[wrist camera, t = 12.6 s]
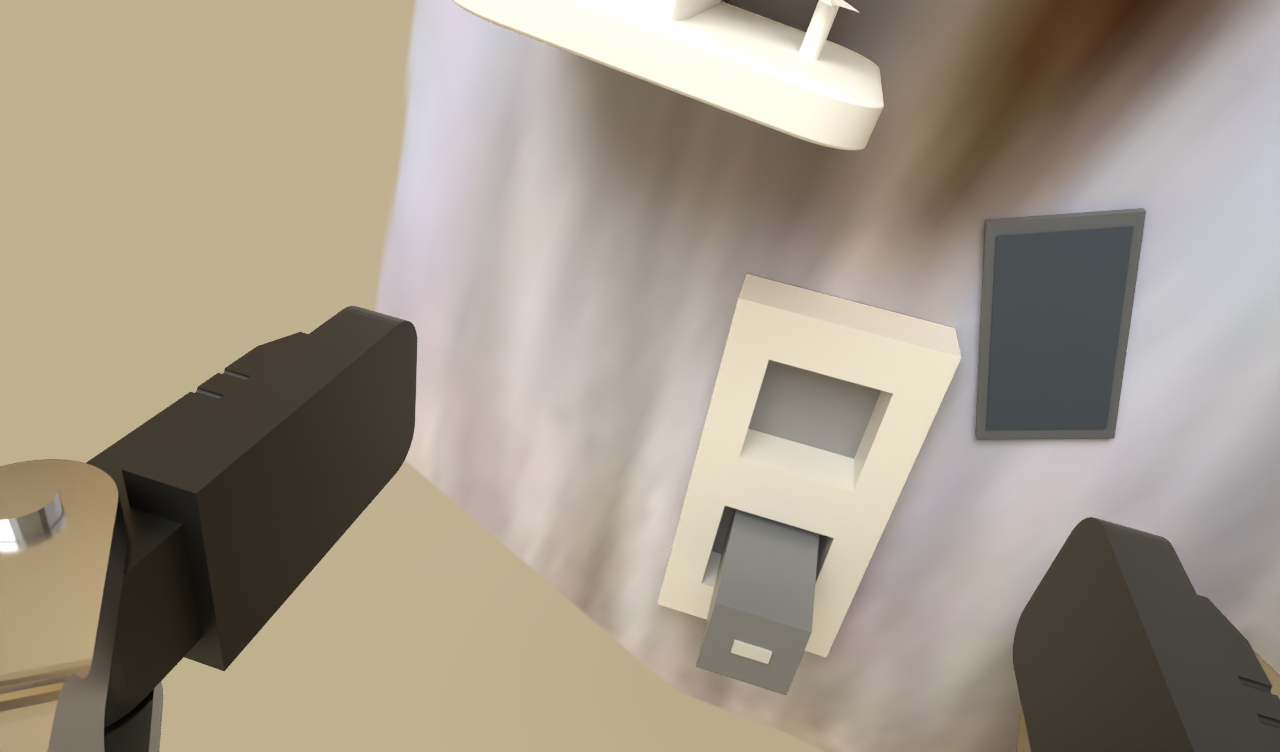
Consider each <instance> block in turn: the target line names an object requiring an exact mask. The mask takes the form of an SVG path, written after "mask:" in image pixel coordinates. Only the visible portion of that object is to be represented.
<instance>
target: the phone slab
mask: <svg viewBox="0 0 1280 752" xmlns="http://www.w3.org/2000/svg"><path fill="white" fill-rule="evenodd" d="M1145 213H1146V211H1145V210H1144V209H1143V208H1140V209H1126V210H1112V211H1098V212H1084V213H1070V214H1057V215H1043V216H1029V217H1015V218H1001V219H987V220H985V233H984V256H983V278H982V301H981V323H980V346H979V369H978V391H977V414H976V438H977V439H1100V438H1114V436H1115V429H1116V422H1117V414H1118V407H1119V400H1120V393H1121V386H1122V378H1123V371H1124V364H1125V357H1126V350H1127V343H1128V335H1129V328H1130V321H1131V314H1132V307H1133V300H1134V292H1135V285H1136V278H1137V271H1138V264H1139V257H1140V249H1141V242H1142V235H1143V228H1144V221H1145Z"/></svg>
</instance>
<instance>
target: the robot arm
mask: <svg viewBox="0 0 1280 752" xmlns="http://www.w3.org/2000/svg"><path fill="white" fill-rule="evenodd" d="M416 365H417V334H416V330H415V327H414V325H413V324H412V323H411V322H409V321H406V320H402V319H399V318H395V317H392V316H388V315H385V314H381V313H378V312H374V311H370V310H367V309H364V308H360V307H356V306H350V307H346V308H345V309H343V310H342V311H340V312H339V313H337V314H336V315H335V316H333V317H332V318H331V319H329V320H328V321H326V322H325V323H324V324H322V325H321V326H319V327H318V328H317V329H315V330H314V331H313V332H311V333H310V334H305V333H302V332H299V333H296V334H293V335H290V336H287V337H284V338H281V339H278V340H275V341H272V342H269V343H266V344H263V345H260V346H257V347H256V348H254V349H253V350H251V351H250V352H248V353H247V354H245V355H244V356H242V357H241V358H239V359H238V360H237V361H235V362H234V363H232V364H231V365H229V366H228V367H226V368H225V371H224V373H223V374H220V373H217V374H216V375H214V376H213V377H212V378H210V379H209V380H207V381H206V382H205V383H203V384H202V385H200V386H198V388H197V391H196V393H193V392H189V393H188V394H187V395H185V396H184V397H182V398H181V399H179V400H178V401H176V402H175V403H173V404H172V405H170V406H169V407H167V408H166V409H165V410H163V411H162V412H160V413H159V414H157V415H156V416H154V417H153V418H151V419H150V420H148V421H147V422H145V423H144V424H143V425H141V426H140V427H138V428H137V429H135V430H134V431H132V432H131V433H129V434H128V435H126V436H125V437H123V438H122V439H121V440H119V441H117V442H116V443H115V444H113V445H112V446H110V447H109V448H107V449H106V450H104V451H103V452H102V453H100V454H98V455H97V456H95V457H94V458H93V459H91V460H90V461H88V462H87V463H82V462H78V461H71V460H60V459H46V460H33V461H25V462H18V463H14V464H9V465H5V466H1V467H0V752H159V747H160V735H161V721H162V708H163V688H162V683H161V681H162V679H163V678H164V677H165V676H166V675H167V674H168V673H169V672H170V671H171V670H172V669H173V668H174V667H175V666H176V665H177V663H178V662H179V661H180V660H181V659H182V658H183V657H185V658H188V659H191V660H194V661H197V662H200V663H202V664H205V665H208V666H211V667H214V668H217V669H219V670H222V671H225V670H226V669H227V668H228V666H229V665H230V664H231V663H232V662H233V661H234V659H235V658H236V657H237V656H238V655H239V654H240V653H241V651H242V650H243V649H244V648H245V647H246V646H247V644H248V643H249V642H250V641H251V640H252V639H253V637H254V636H255V635H256V634H257V633H258V632H259V631H260V629H261V628H262V627H263V626H264V625H265V624H266V623H267V621H268V620H269V619H270V618H271V617H272V616H273V614H274V613H275V612H276V611H277V610H278V609H279V608H280V606H281V605H282V604H283V603H284V602H285V601H286V600H287V598H288V597H289V596H290V595H291V594H292V593H293V591H294V590H295V589H296V588H297V587H298V586H299V584H300V583H301V582H302V581H303V580H304V579H305V578H306V576H307V575H308V574H309V573H310V572H311V571H312V570H313V568H314V567H315V566H316V565H317V564H318V563H319V562H320V560H321V559H322V558H323V557H324V556H325V555H326V553H327V552H328V551H329V550H330V549H331V548H332V547H333V545H334V544H335V543H336V542H337V541H338V540H339V538H340V537H341V536H342V535H343V534H344V533H345V531H346V530H347V529H348V528H349V527H350V526H351V525H352V523H353V522H354V521H355V520H356V519H357V518H358V516H359V515H360V514H361V513H362V512H363V510H365V508H366V507H367V506H368V505H369V504H370V503H371V502H372V500H373V499H374V498H375V497H376V496H377V495H378V493H379V492H380V491H381V490H382V489H383V488H384V487H385V485H386V484H387V483H388V482H389V481H390V479H391V478H392V477H393V476H394V475H395V474H396V473H397V471H398V470H399V468H400V467H401V465H402V463H403V462H404V460H405V458H406V456H407V453H408V451H409V448H410V445H411V442H412V438H413V434H414V427H415V400H416ZM1013 664H1014V670H1015V675H1016V680H1017V685H1018V690H1019V695H1020V700H1021V705H1022V710H1023V714H1024V719H1025V724H1026V729H1027V734H1028V739H1029V744H1030V749H1031V752H1280V699H1279V697H1278V695H1274V694H1271V688H1272V684H1271V683H1270V681H1269V679H1268V677H1267V675H1266V673H1265V671H1264V670H1263V668H1262V666H1261V664H1260V662H1259V660H1258V659H1257V657H1256V655H1255V653H1254V651H1253V649H1252V647H1251V646H1250V644H1249V642H1248V641H1247V640H1246V639H1245V637H1244V636H1243V635H1242V634H1241V633H1240V632H1239V631H1238V630H1237V629H1236V628H1235V627H1234V626H1233V625H1232V624H1231V623H1230V621H1229V620H1228V619H1227V618H1226V617H1225V616H1224V615H1223V614H1222V613H1221V612H1220V611H1219V610H1218V609H1217V608H1216V607H1215V606H1214V604H1213V603H1212V602H1211V601H1210V600H1209V599H1208V598H1206V597H1202V596H1199V595H1197V594H1196V592H1195V590H1194V588H1193V586H1192V584H1191V582H1190V580H1189V578H1188V576H1187V574H1186V572H1185V570H1184V568H1183V566H1182V564H1181V562H1180V560H1179V558H1178V556H1177V554H1176V552H1175V550H1174V548H1173V547H1172V545H1171V543H1170V542H1169V541H1168V540H1167V539H1165V538H1163V537H1160V536H1157V535H1153V534H1150V533H1146V532H1143V531H1139V530H1136V529H1132V528H1129V527H1125V526H1122V525H1118V524H1114V523H1111V522H1107V521H1104V520H1100V519H1097V518H1092V517H1090V518H1086V519H1084V520H1082V521H1081V522H1080V523H1079V524H1078V525H1077V526H1076V527H1075V528H1074V529H1073V531H1072V532H1071V534H1070V535H1069V537H1068V539H1067V540H1066V542H1065V544H1064V545H1063V547H1062V548H1061V550H1060V552H1059V553H1058V555H1057V557H1056V558H1055V560H1054V561H1053V563H1052V565H1051V566H1050V568H1049V569H1048V571H1047V573H1046V574H1045V576H1044V578H1043V579H1042V581H1041V582H1040V584H1039V586H1038V587H1037V589H1036V591H1035V592H1034V594H1033V595H1032V597H1031V599H1030V600H1029V602H1028V603H1027V605H1026V607H1025V608H1024V610H1023V612H1022V614H1021V616H1020V619H1019V622H1018V625H1017V628H1016V632H1015V637H1014V644H1013Z"/></svg>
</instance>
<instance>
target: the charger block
mask: <svg viewBox="0 0 1280 752" xmlns="http://www.w3.org/2000/svg"><path fill="white" fill-rule="evenodd" d="M818 543H819V534H818V533H815V532H811V531H808V530H805V529H801V528H798V527H795V526H791V525H788V524H785V523H781V522H778V521H775V520H771V519H768V518H765V517H761V516H758V515H755V514H751V513H748V512H745V511H741V510H738V509H734V513H733V516H732V520H731V523H730V526H729V530H728V533H727V537H726V540H725V543H724V547H723V551H722V556H721V560H720V564H719V569H718V573H717V577H716V582H715V586H714V591H713V595H712V599H711V604H710V608H709V612H708V617H707V621H706V625H705V630H704V634H703V638H702V643H701V647H700V652H699V656H698V660H697V665H696V667H699V668H702V669H705V670H708V671H711V672H714V673H718V674H721V675H724V676H727V677H730V678H733V679H737V680H740V681H743V682H746V683H749V684H752V685H755V686H759V687H762V688H765V689H768V690H771V691H774V692H778V693H781V694H784V695H787V692H788V690H789V687H790V685H791V682H792V680H793V677H794V675H795V672H796V670H797V668H798V665H799V663H800V660H801V658H802V655H803V653H804V650H805V648H806V645H807V643H808V640H809V638H810V635H811V633H812V622H813V609H814V596H815V582H816V569H817V556H818Z"/></svg>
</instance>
